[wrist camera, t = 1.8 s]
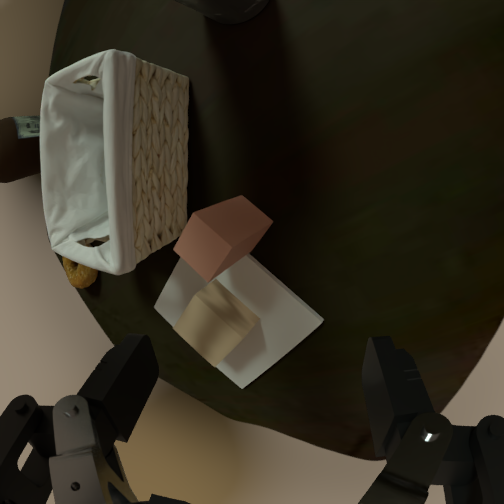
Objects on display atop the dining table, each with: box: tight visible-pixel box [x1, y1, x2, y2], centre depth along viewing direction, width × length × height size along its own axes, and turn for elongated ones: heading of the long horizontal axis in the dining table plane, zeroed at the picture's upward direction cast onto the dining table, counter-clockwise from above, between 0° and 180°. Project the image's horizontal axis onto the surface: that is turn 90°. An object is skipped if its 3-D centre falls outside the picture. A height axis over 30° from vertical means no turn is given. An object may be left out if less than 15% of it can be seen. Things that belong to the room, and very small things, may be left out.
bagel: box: [63, 243, 98, 288], centre depth 55 cm, size 10×11×5 cm
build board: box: [154, 253, 324, 389], centre depth 43 cm, size 20×20×1 cm
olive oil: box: [0, 116, 41, 183], centre depth 36 cm, size 11×11×25 cm
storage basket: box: [40, 49, 189, 275], centre depth 34 cm, size 24×16×15 cm
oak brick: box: [173, 279, 260, 367], centre depth 41 cm, size 8×8×5 cm
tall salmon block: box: [173, 195, 273, 283], centre depth 33 cm, size 5×5×10 cm
